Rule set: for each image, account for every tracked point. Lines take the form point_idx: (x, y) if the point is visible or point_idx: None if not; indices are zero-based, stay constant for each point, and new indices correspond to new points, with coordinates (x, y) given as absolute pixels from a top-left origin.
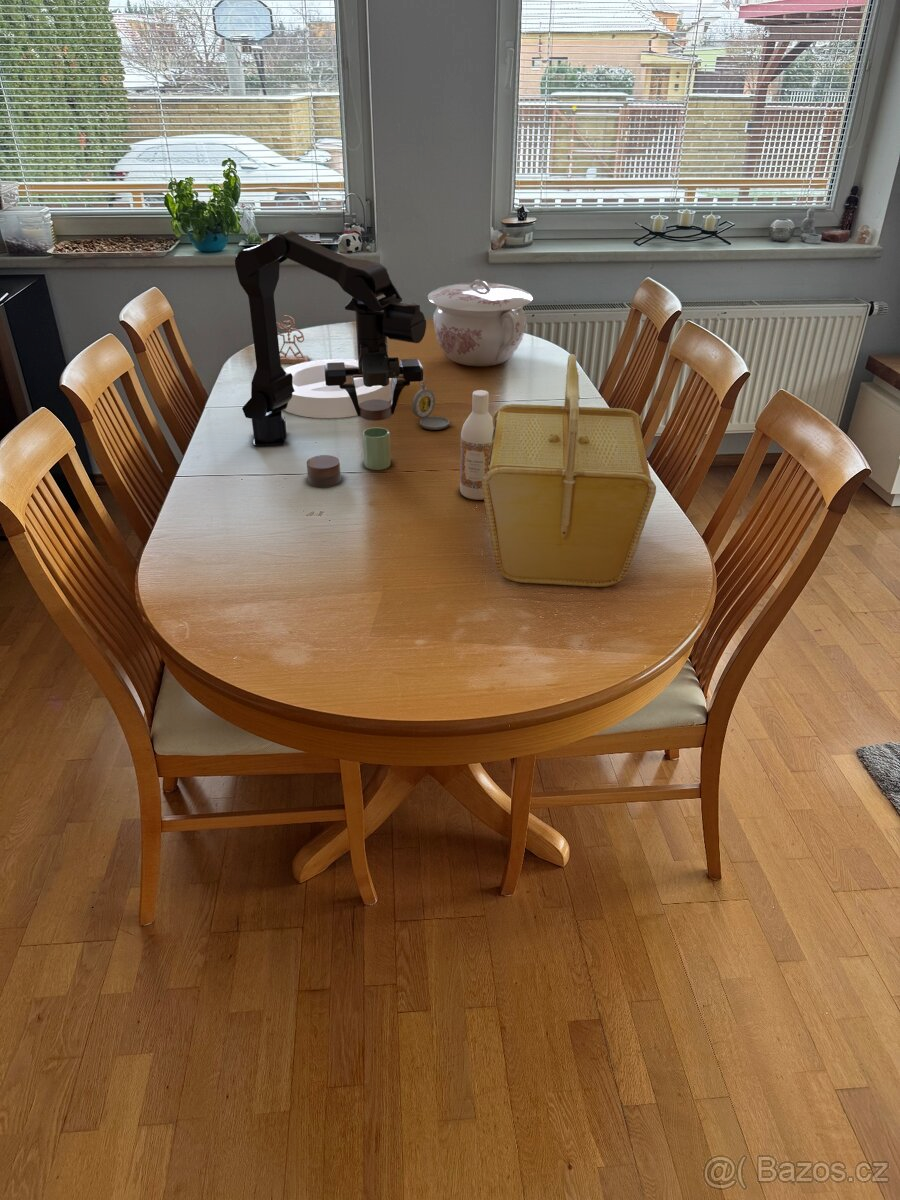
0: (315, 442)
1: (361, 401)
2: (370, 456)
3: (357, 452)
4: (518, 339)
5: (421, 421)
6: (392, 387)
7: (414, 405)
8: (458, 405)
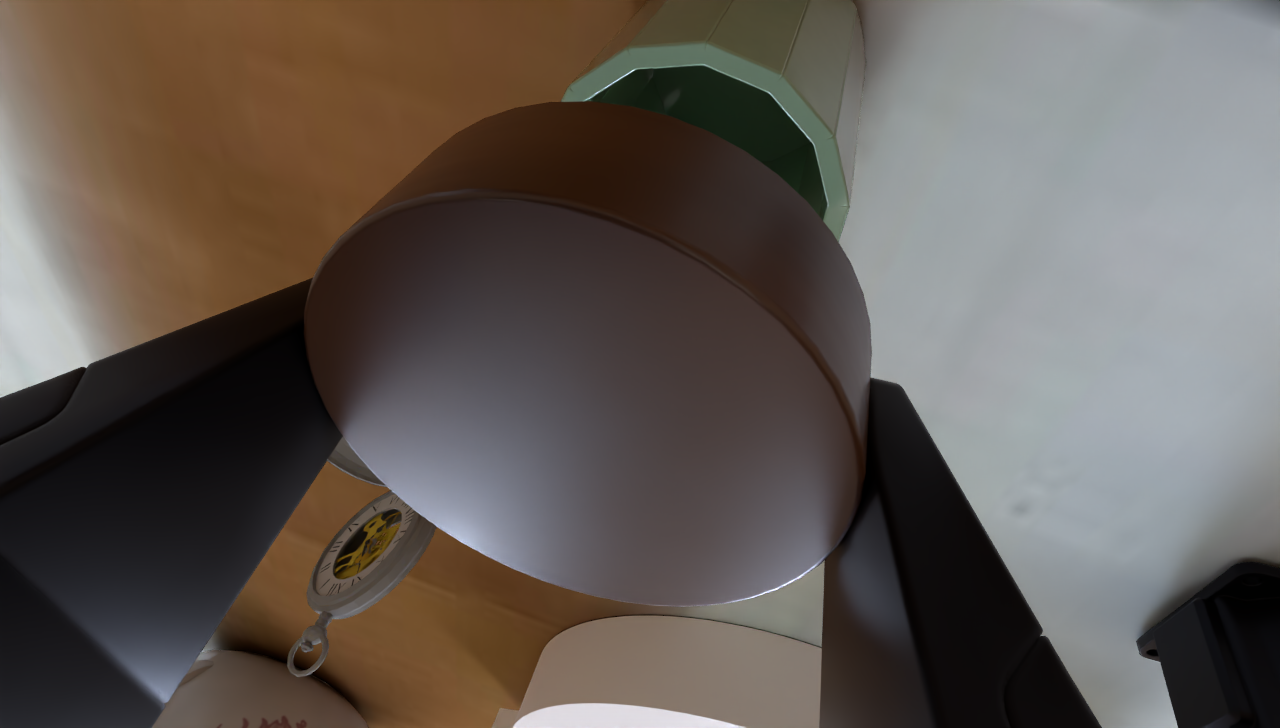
0: (1022, 512)
1: (659, 673)
2: (823, 12)
3: None
4: None
5: None
6: (109, 649)
7: (406, 546)
8: (300, 524)
